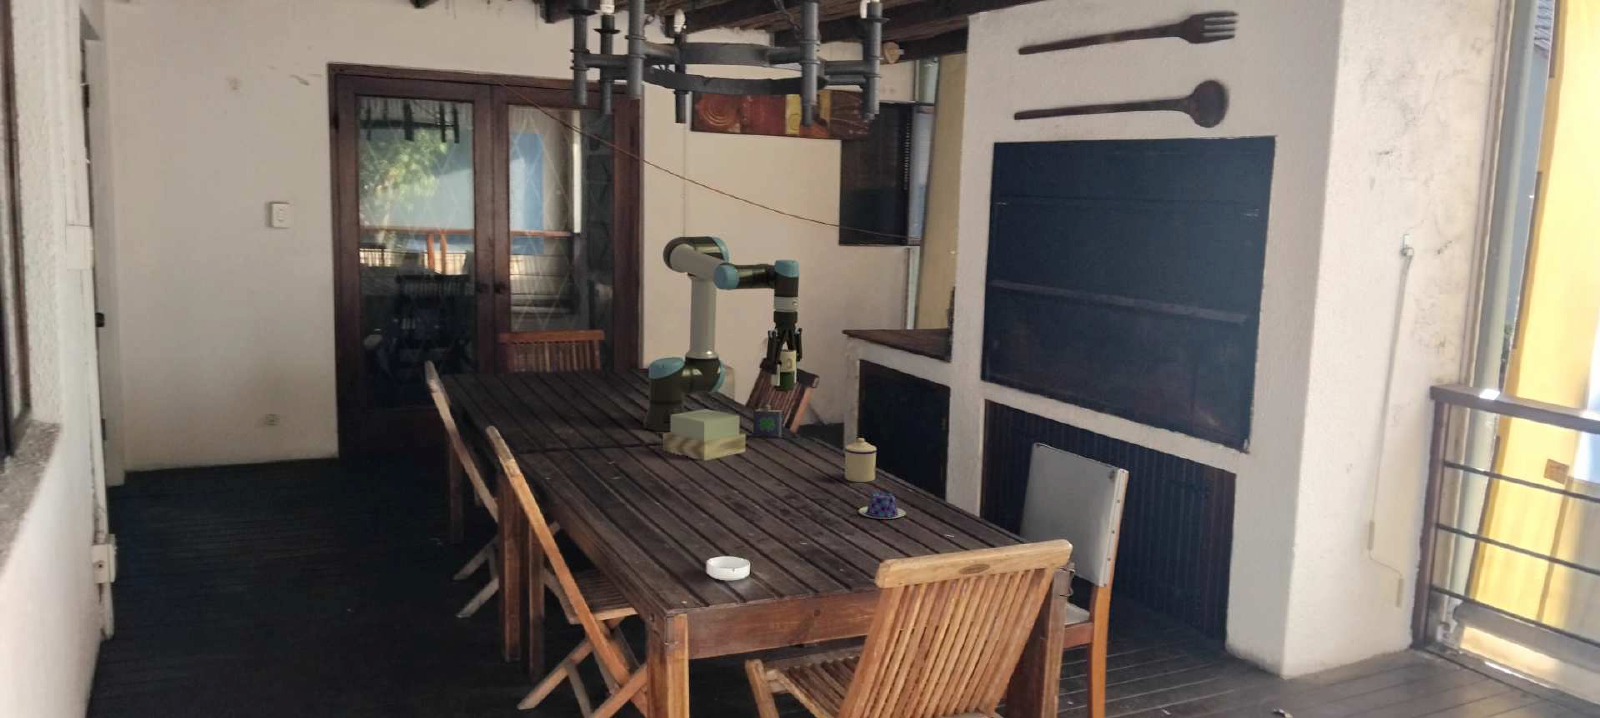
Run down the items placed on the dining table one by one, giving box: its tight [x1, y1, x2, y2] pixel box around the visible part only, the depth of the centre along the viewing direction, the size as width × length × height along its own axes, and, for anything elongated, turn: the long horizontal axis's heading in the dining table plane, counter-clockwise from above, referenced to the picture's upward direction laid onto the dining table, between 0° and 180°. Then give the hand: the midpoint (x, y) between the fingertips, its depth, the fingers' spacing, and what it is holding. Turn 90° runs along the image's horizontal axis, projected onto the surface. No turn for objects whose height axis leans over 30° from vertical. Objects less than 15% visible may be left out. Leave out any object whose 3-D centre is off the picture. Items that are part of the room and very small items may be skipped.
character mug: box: [773, 348, 796, 393], centre depth 369 cm, size 11×7×13 cm, turn 27°
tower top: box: [670, 408, 740, 442], centre depth 367 cm, size 15×15×6 cm
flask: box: [753, 404, 783, 439], centre depth 392 cm, size 9×3×11 cm, turn 87°
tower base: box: [662, 432, 746, 461], centre depth 369 cm, size 18×18×6 cm
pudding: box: [858, 491, 907, 520], centre depth 302 cm, size 12×12×5 cm
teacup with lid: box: [844, 437, 878, 483], centre depth 339 cm, size 12×9×12 cm
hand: (783, 383), depth 369 cm, fingers closed on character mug, 7 cm apart
